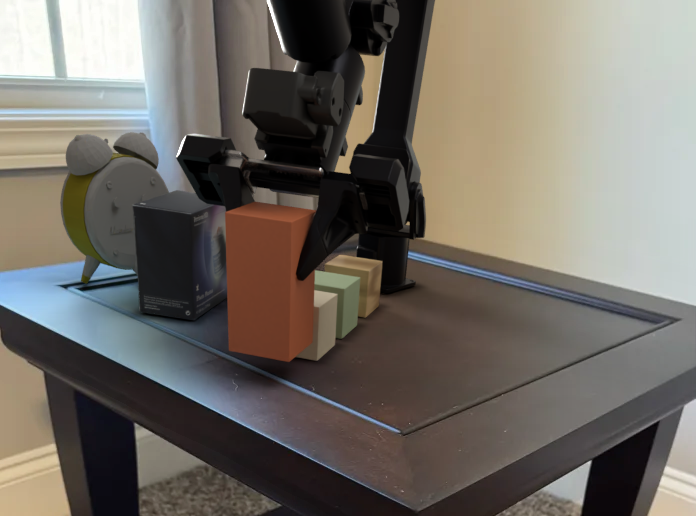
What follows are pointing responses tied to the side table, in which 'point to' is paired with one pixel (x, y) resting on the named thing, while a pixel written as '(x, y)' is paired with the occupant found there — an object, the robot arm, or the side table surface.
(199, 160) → the robot arm
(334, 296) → the cube
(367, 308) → the cube
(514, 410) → the side table surface
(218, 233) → the small box
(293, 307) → the tall block
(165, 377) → the side table surface
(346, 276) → the cube
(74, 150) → the alarm clock
